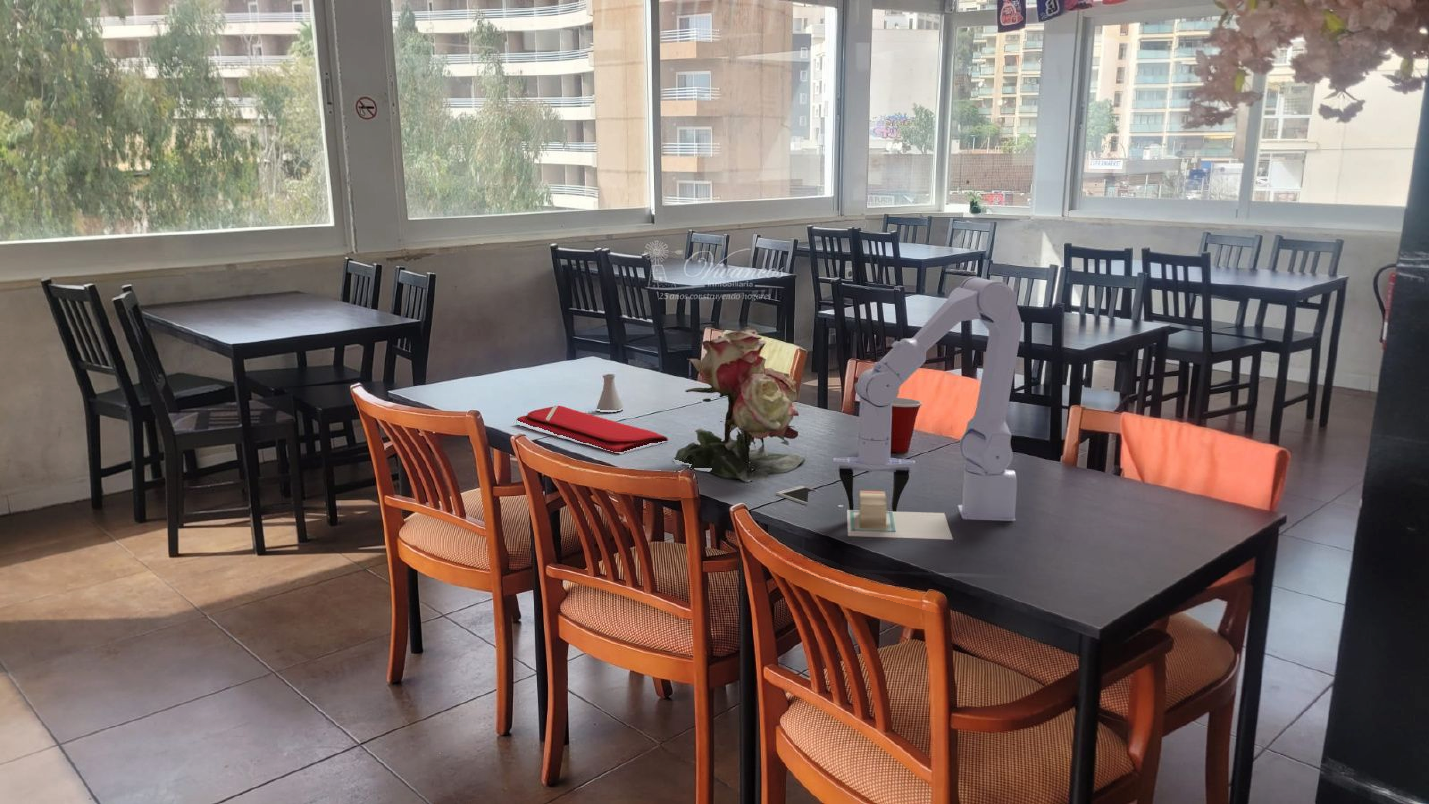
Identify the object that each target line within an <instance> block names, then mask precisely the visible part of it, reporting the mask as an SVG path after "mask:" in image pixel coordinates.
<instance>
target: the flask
mask: <svg viewBox="0 0 1429 804" xmlns="http://www.w3.org/2000/svg"><path fill="white" fill-rule="evenodd" d="M615 377H616V374H613V373H605V374H603V375H602V378H603V385H602V386H603V388H602V391H601V395H600V398H599V399H598V400H599V401H598V403H597V405H596V409H600V410H619V409H621V408H622V407H623V408H624V405H623V404H622V401H621V399H620V396H619V393H618V391H617V389H616V384H615V383H616V382H615Z"/></svg>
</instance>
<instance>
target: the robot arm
mask: <svg viewBox="0 0 1429 804" xmlns="http://www.w3.org/2000/svg"><path fill="white" fill-rule="evenodd" d="M1017 299H1018V295H1017V294H1016V292H1014V290H1013V289H1012V288H1011V287H1010V286H1009V285H1008V283H1006V282H1004V281H1000V280H991V279H986V278H983V277H980V276H969V277H967V278H966V279H964V280H963V281H962V282H961V283H960V284H959V286H957V287H955V288H954V289H953V290H952V291H951V292H950V294H949V296H948V297H947V300H945V302H943V304H942V305H941V306H940V307H939V308H938V309H937V311H935V313H934V314H933V315H931V317H930V318H929V319H928V320H927V322H925V324H923V325H922V327H921V328H920V329H919V330H918V331H917V333H915V335H914V336H913V337H911V338H902V339H900V340H899V341H898V340H895V341H894V342H893V343H892V344H891V347H892V348H891V349H890V351H888V352H887V353H886V354H885V355H884V356H883V357H882V358H881V359H880V360H879V361H875V362H874V363H873V364H872V368H870V369H866V370H864V371H862V373H861V374H860V375H859V376H858V378H857V380H858V381H857V382H856V383H854V390H855V393H856V394H857V395H858V397H859V411H858V413H859V415H858V418H859V419H858V450H857V451H858V452H857V453H858V454H857V455H858V456H854V457H853V456H851V457H833V462H832V463H833V466H832V467H833V469H832V470H833V472H839V474H838V475H839V476H838V477H839V478H840V481H841V483H842V486H843V489H844V490H845V493H846V497H847V500H848V510H854V494H853V493H854V471H856V472H857V471H860V472H891V473H893V490H892V498H891V499H892V500H891V511H892V512H897V510H898V505H899V501H900V498H901V495H902V493H903V491H904V489H905V487H906V485H907V483H908V482H909V479H910V475H909V474H916V460H914V459H903V458H902V459H901V458H894V457H891V421H892V401H894V400H896V398H898V396H899V392H900V391H899V390H900V387H901V386H902V385H903V384H904V383H905V382H907V380H908V379H910V377H911V376H913V374H914V373H915V372H916V371H918V369H920V368H921V366H923V365H924V364H925V362H926V361H927V351H929V349H931V347H933V346H934V345H935V344H936V343H937V342H938V341H940V340H941V339H942V338H943V337H944V336H945V335H947V333H949V332H950V331H951V330H952V329H953V328H954V327H956V326H957V325H958V324H959V323H961V322H966V321H973V320H980V322H981V323H982V324H983V325H984V326H985V328H986V329H987V330H988V331H989V332H988V333H989V334H988V339H987V344H986V349H985V350H986V352H985V357H984V362H983V368H982V375H981V379H980V386H979V391H978V398H977V404H976V407H975V409H976V410H975V415H973V417H971V418H970V419H969V420H968V421H967V425H966V429H965V431H964V433H963V435H962V436H961V438H960V440H959V442H958V443H959V444H958V450H959V452H960V455H961V457H962V458H964V463H963V464H964V465H963V468H964V469H963V485H962V486H963V487H962V503H961V504H958V505H957V508H958V511H959V514H960V516H961V519H963V520H975V521H978V520H979V521H1004V522H1005V521H1009V522H1015V521H1016V506H1017V505H1016V503H1017V486H1018V485H1017V484H1018V482H1017V481H1018V480H1017V474H1016V471H1015V470H1013V469H1007V468H1008V467H1010V464H1011V463H1012V460H1013V450H1012V445H1011V439H1012V433H1011V430H1010V428H1009V426H1008V424H1007V421H1006V419H1007V414H1008V408H1009V402H1010V396H1011V392H1012V391H1011V390H1012V386H1013V385H1012V384H1013V380H1014V374H1015V370H1016V364H1017V358H1018V357H1017V356H1018V352H1019V346H1020V340H1021V335H1022V328H1023V324H1022V319H1021V315H1020V312H1019V309H1018V305H1017V301H1018V300H1017Z"/></svg>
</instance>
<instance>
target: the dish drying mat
mask: <svg viewBox="0 0 1429 804" xmlns="http://www.w3.org/2000/svg"><path fill="white" fill-rule="evenodd" d="M517 420H518V421H520V422H523V423H526V424H528V425H530V426H533V427H539V428H542V429H544V430H548V431H550V432H553V433H554V434H557V435H563V436H566V437H569V438H572V439H575V440H577V441H580V442H583V443H589V444H592V445H595V446H598V447H601V448H603V449H606V450H610V451H613V452H624V451H627V450H630V449H633V448H636V447H640V446H643V445H647V444H649V443H658V442H662V441H667V442H668V440H669V439H668V437H667V436H664V435H662V434H659V433H657V432H655V431H652V430H648V429H645V428H644V429H643V428H639V427H637V426H632V425H629V424H624V423H620V422H617V421H614V420H610V419H607V418H603V417H600V416H596V415H593V414H590V413H585V412H582V411H580V410H576V409H573V408H569V407H566V406H563V405H554V406H549V407H544V408H540V409H534V410H532V411H529V412H528V413H527V415H523V416H518V417H517V418H516V421H517Z"/></svg>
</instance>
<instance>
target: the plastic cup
mask: <svg viewBox="0 0 1429 804" xmlns="http://www.w3.org/2000/svg"><path fill="white" fill-rule="evenodd" d="M922 405H923V402H922V401H919V400H916V399H911V398H907V397H906V398H904V397H897V398H896V400H894V401H892V421H891V452H897V453H896V454H900V453H899V452H904V453H907V452H909V449H910V446H911V441H912V437H913V434H914V429H915V425H916V419H917V417H918V412H919V411H920V408H921V406H922ZM891 452H890V453H891Z"/></svg>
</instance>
